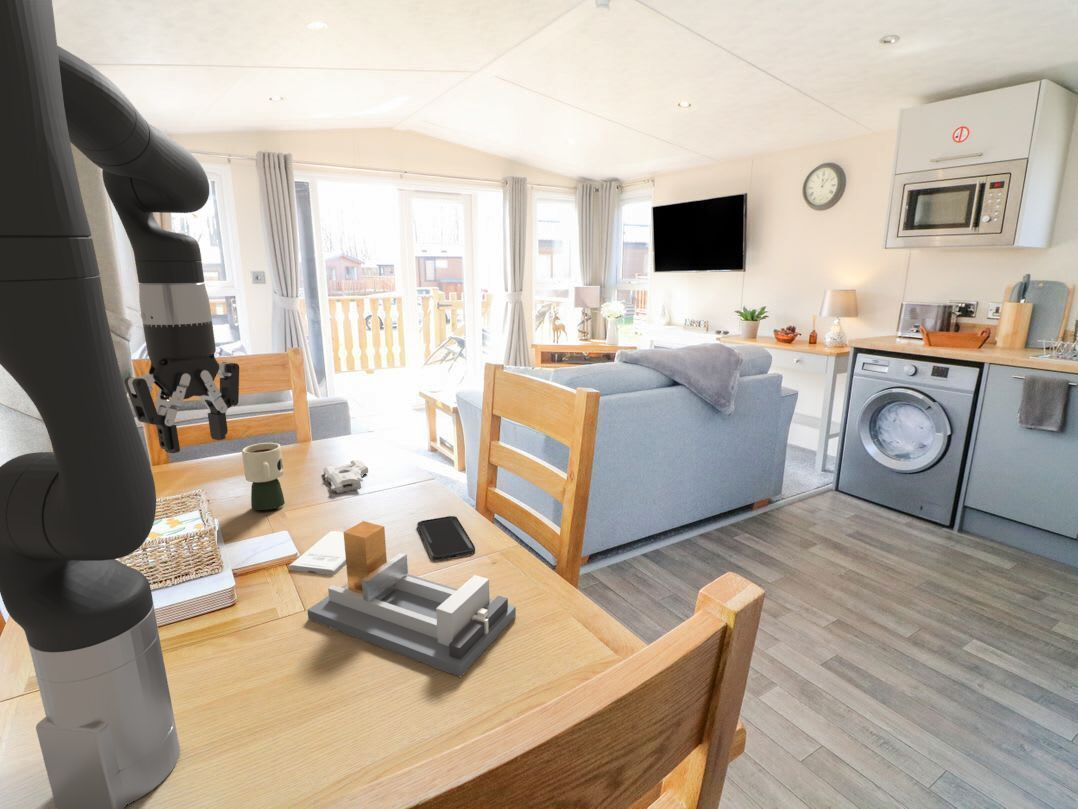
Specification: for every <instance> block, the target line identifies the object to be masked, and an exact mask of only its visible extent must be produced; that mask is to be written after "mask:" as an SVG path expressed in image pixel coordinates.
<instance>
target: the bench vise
mask: <svg viewBox="0 0 1078 809" xmlns="http://www.w3.org/2000/svg"><path fill="white" fill-rule="evenodd" d="M346 584H348V582H347V583H346ZM346 584H344V585H343V586H345V585H346ZM343 586H338V585H335V584H332V585H331V586H329V587H328V588H327V590H328V596H326V597H324V598H322V600H320V601H319V602H317V603H315V604H314V605H312V606H311V607H310V608H308V609H307V619H308V620H310V621H312V622H315V623H317V624H320V625H323V626H325V627H328V628H331V629H332V630H333V629H334V630H337V631H339V632H341V633H344V634H347V635H348V636H352V637H355V638H356V639H360V640H362V641H365V642H367V643H370V644H372V645H375V646H378V647H380V648H383V649H386V650H388V651H390V652H393V653H397V654H399V655H402V656H404V657H406V658H410V659H412V660H414V661H418V662H420V663H423V664H425V665H427V664H428V665H427V666H430V667H433V668H435V667H436V668H435V669H438V670H440V669H441V671H443V670H444V671H443V672H446V671H447V672H446V673H448V672H449V673H448V674H451V673H452V674H451V675H454V674H455V675H454V676H456V675H458V676H457V677H459V676H461V677H462V676H463V675H464V674H465V673H466V672H467V671H468V670H467V669H469V668H470V667H471V666H472V665H473V664H474V663H475V662H474V661H475V660H476V661H477V660H478V658H479V657H481V655H482V654H483V653H484V652H485V651H486V650H487V649H488V647H489V646H490V645H491V644H492V643H493V642H494V641H495V639H496V638H497V637H499V635H500V634H501V633H502V632H503V631H504V629H505V628H507V626H508V625H509V624H510V623H511V622H512V621H513V620H514V619H515V617H516V615H517V614H516V613H517V612H516V606H514V605H512V604H509V601H508V600H509V599H508V597H504V596H500V595H497V596H496V597H495V598H494V599H491V598H490V578H486V577H483V576H480V575H476V574H473V576H472V577H471V578H469V579H468V580H467V581H466V582H465V583H463V584H462V585H461V586H460V587H459V588H455V587H452V586H450V585H449V586H448V585H446V584H445V585H444V584H442V583H438V582H435V581H432V580H430V579H426V578H423V577H418V576H415V575H412V574H410V573H407V574H406V575H405V576H403V577H402V578H401V579H399V580H398V581H397V582H395V587H396V589H395V590H394V591H392V592H391V593H390V594H388V595H387V596H386V597H384V598H383V599H382V600H377V599H374V598H373V599H372V600H371V601H369V602H368V601H365V600H363V595H362V594H359V593H356V592H353V591H350V590H347V589H344V588H342V587H343ZM493 640H494V641H493ZM484 650H485V651H484ZM482 652H483V653H482ZM472 663H473V664H472ZM466 670H467V671H466ZM465 671H466V672H465ZM464 672H465V673H464ZM463 673H464V674H463Z"/></svg>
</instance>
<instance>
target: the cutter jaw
mask: <svg viewBox="0 0 1078 809" xmlns="http://www.w3.org/2000/svg"><path fill="white" fill-rule="evenodd" d="M343 532H344V544H345V555H346V564H345V565H346V576H347V583H348V584H347V583H346V584H344V585H345V586H344V585H343V586H341V587H342V588H344V589H347V590H350V591H353V592H356V593H359V594H362V595H363V600H365V601H368V602H369V601H371V600H372V599H373V598H374V599H377V600H382V599H383V598H384V597H386V596H387V595H388V594H390V593H391V592H392V591H394V590H395V589H396V587H395V582H397V581H398V580H399V579H401V578H402V577H403V576H405V575H406V574H409V568H408V554H407V553H404V552H399V554H397V555H395V556H394V557H393V558H391V559H390V560H389V561H388V559H387V547H386V546H387V544H386V543H387V542H386V535H385V534H386V529H385V526H383V525H382V524H381V525H380V524H378V523H373V522H368V521H365V520H362V521H361V522H359V523H358V524H356V525H353V526H352V527H350V528H348V529H347V530H345V531H343Z"/></svg>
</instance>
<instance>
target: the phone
mask: <svg viewBox="0 0 1078 809" xmlns="http://www.w3.org/2000/svg"><path fill="white" fill-rule="evenodd" d="M416 525H417V530H418V532H419V535H420V537H421V539H422V541H423V543H424V545H425V548H426V550H427V552H428V555H429V556H430V559H431V560H432V561H434V562H436V561H437V562H438V561H443V560H451V559H456V558H460V557H465V556H466V557H467V556H471V555H474V554H475V553H476V546H475V545H474V542H472V540H471V537H470V536H469V535H468V533H467V532H466V530H465V528H464V527H463V525H462V524H461V521H460V520H459V519H458V517H457V516H455V515H448V516H442V517H436V518H431V519H430V518H429V519H423V520H420V521H418V522H417V524H416Z"/></svg>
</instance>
